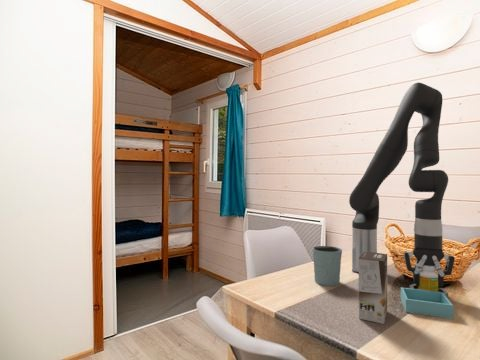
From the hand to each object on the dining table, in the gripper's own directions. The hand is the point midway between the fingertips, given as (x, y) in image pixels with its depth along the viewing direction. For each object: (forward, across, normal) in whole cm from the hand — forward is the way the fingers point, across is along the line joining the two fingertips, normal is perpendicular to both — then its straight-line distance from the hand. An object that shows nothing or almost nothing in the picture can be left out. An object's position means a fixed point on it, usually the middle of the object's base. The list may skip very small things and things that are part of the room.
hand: (428, 286), depth 94 cm
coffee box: (+3, -17, -21) cm, 27 cm away
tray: (+3, -3, -11) cm, 12 cm away
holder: (+3, 0, 0) cm, 3 cm away
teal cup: (+3, -31, +2) cm, 31 cm away
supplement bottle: (+3, 0, 0) cm, 3 cm away
